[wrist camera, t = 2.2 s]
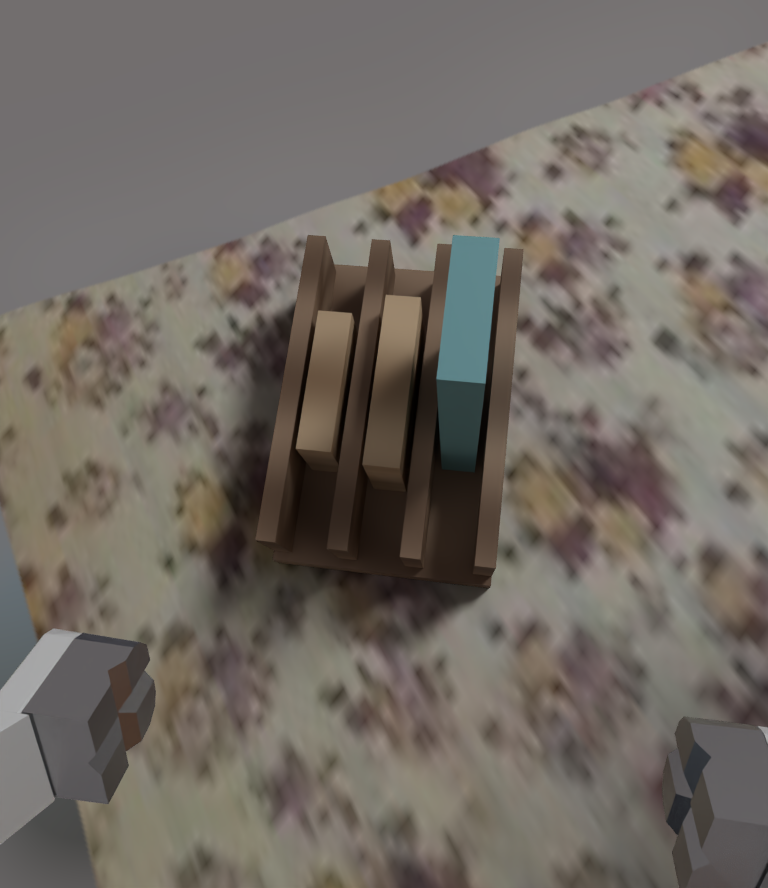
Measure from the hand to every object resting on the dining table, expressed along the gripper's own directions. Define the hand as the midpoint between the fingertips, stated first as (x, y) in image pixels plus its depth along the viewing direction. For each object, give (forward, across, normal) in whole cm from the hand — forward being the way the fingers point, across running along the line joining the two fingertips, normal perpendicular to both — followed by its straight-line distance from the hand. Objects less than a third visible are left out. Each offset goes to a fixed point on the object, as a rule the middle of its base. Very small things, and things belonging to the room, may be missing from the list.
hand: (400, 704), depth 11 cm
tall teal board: (+29, 0, +10) cm, 31 cm away
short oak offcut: (+29, +4, +10) cm, 31 cm away
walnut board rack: (+30, +4, +11) cm, 32 cm away
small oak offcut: (+29, +7, +10) cm, 31 cm away
